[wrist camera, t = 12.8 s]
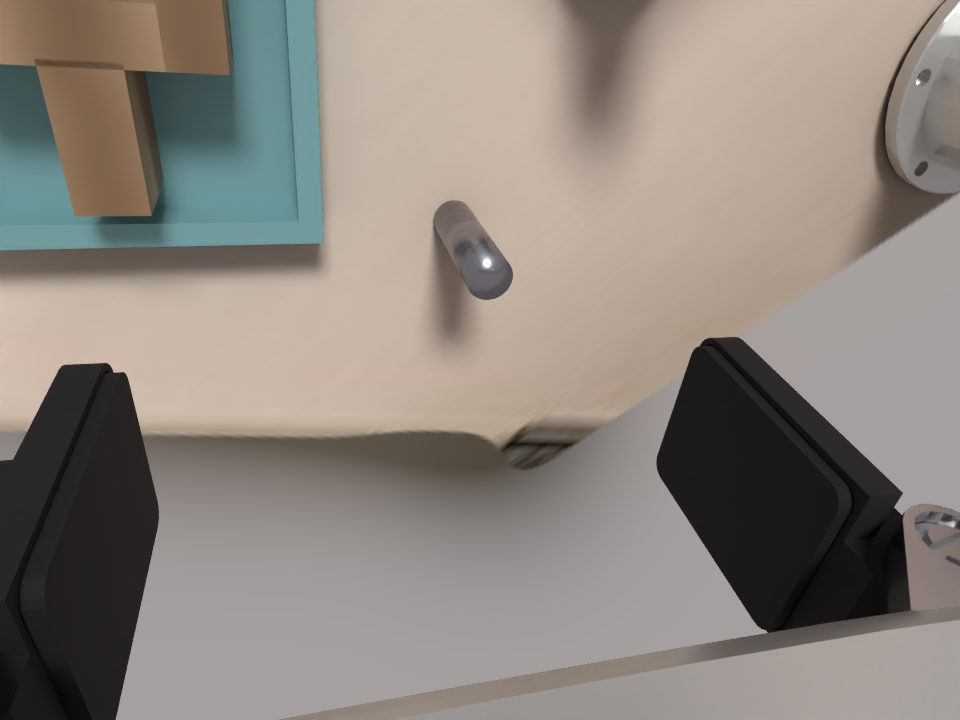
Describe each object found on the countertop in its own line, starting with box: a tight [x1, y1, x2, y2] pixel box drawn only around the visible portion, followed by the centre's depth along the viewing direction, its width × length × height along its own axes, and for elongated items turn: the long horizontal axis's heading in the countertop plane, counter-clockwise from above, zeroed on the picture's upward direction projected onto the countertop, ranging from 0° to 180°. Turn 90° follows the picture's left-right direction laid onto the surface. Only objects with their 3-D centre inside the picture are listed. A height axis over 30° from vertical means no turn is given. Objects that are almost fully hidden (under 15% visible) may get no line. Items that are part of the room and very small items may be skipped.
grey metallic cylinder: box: [433, 201, 513, 300], centre depth 30 cm, size 2×2×6 cm
